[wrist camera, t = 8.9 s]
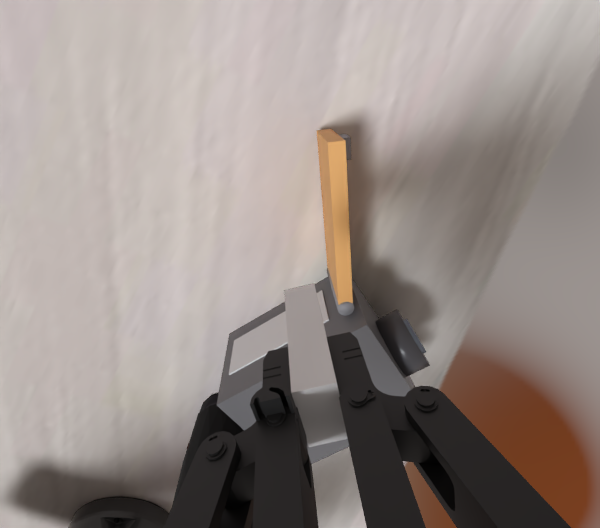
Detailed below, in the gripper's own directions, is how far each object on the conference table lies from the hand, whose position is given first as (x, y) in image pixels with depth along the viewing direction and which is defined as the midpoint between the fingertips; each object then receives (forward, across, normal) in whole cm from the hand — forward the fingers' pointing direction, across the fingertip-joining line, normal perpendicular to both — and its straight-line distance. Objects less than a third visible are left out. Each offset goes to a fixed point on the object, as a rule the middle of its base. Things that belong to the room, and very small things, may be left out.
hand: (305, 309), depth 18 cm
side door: (+17, +4, -1) cm, 17 cm away
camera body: (+18, 0, -16) cm, 24 cm away
